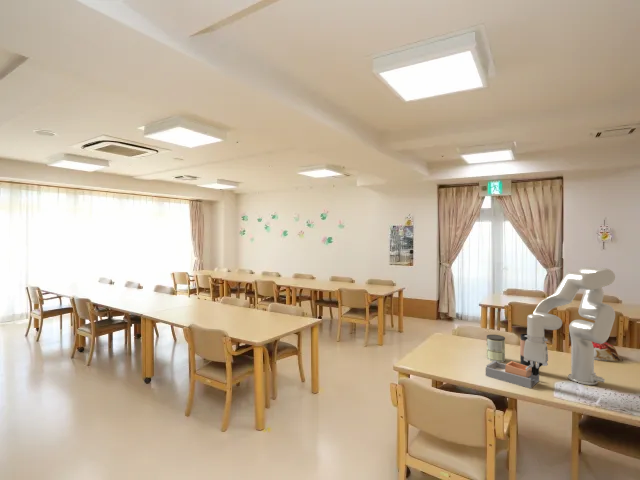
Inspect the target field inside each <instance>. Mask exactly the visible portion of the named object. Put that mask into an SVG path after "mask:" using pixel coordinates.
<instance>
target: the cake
mask: <svg viewBox="0 0 640 480" xmlns="http://www.w3.org/2000/svg"><path fill="white" fill-rule="evenodd" d="M592 344H593V347H594V361H601V362H619V361H623V360H624V359H623V358H621V360H620V356H619V354H618V352H617V349H616V347H615V346H614V345H612V344H611V343H610V342H607V341H606V342H604V343H595V342H592Z"/></svg>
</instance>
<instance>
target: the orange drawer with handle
mask: <svg viewBox="0 0 640 480" xmlns="http://www.w3.org/2000/svg"><path fill="white" fill-rule="evenodd" d="M505 364H506V367H505V372H507V373H511V374H515V375H519V376H523V377H526V378H530V376H531V372H532V367H531V365H529V366H525V365H522V364H521V363H519V362H516V361H513V360H512V361H509V362H507V363H505Z"/></svg>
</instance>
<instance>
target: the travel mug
mask: <svg viewBox="0 0 640 480" xmlns="http://www.w3.org/2000/svg"><path fill="white" fill-rule="evenodd" d="M526 340H527V333H521V334H520V345H519V346H520V353H519V354H520V356H519V357H520V364H522V365H525V366H529V365H530V364H529V363H528V362H526V361H524V346H525V341H526ZM536 363H537V362H535V366H536Z"/></svg>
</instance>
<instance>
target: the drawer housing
mask: <svg viewBox="0 0 640 480" xmlns="http://www.w3.org/2000/svg"><path fill="white" fill-rule="evenodd" d="M506 364H507V363H504V362H497V361H491V362H490V363H488V364H486V367H485V376H486V377H489V378H492V379H496V380H500V381H502V382H507V383H511V384H513V385H517V386H520V387H525V388H528V389H532V388H533V387H534V386H535V385H536V384H538V383H539V382H540V373H539V374H538V375H537V376H535V375H533V373H532V372H531V376H530V378H526V377H523V376H519V375H515V374H511V373H507V372H505V367H506Z"/></svg>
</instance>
